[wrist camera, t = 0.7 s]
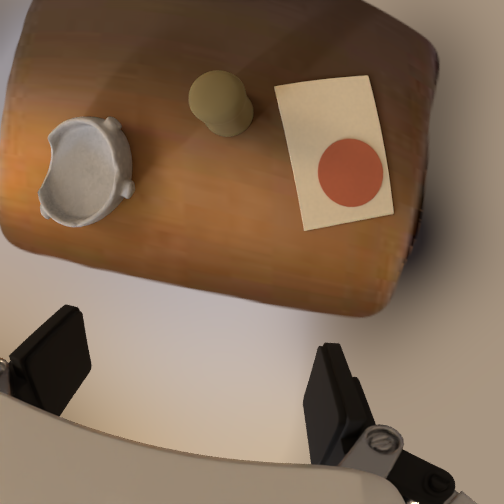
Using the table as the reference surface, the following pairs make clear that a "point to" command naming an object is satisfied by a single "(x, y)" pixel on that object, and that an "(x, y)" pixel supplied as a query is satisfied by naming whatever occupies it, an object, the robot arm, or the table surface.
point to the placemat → (335, 150)
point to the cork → (221, 103)
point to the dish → (86, 171)
